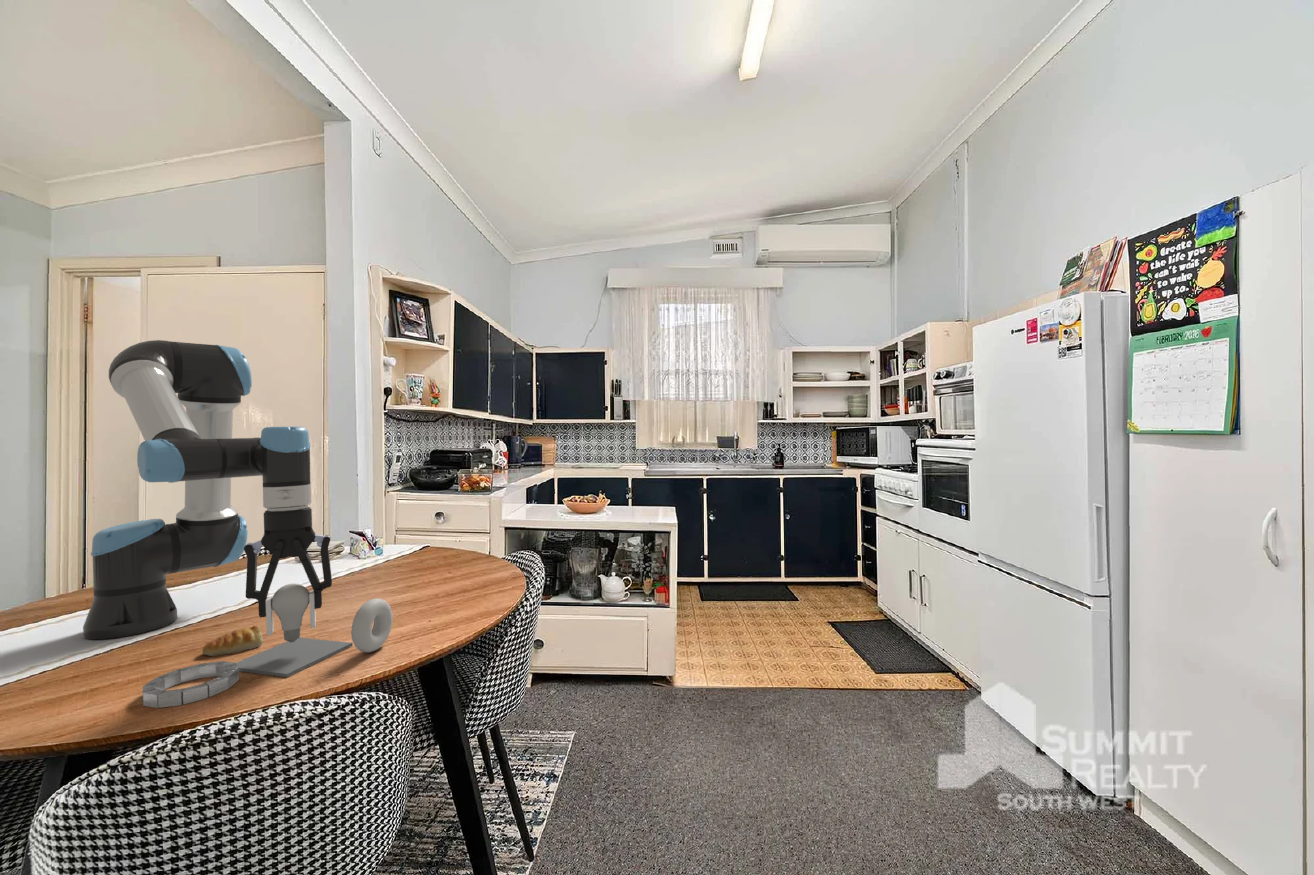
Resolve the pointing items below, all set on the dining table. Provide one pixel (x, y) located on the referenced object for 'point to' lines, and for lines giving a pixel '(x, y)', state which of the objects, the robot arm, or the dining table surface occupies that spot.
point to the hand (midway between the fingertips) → (292, 629)
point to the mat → (291, 656)
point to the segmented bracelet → (165, 698)
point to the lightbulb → (290, 608)
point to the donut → (363, 624)
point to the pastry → (234, 642)
